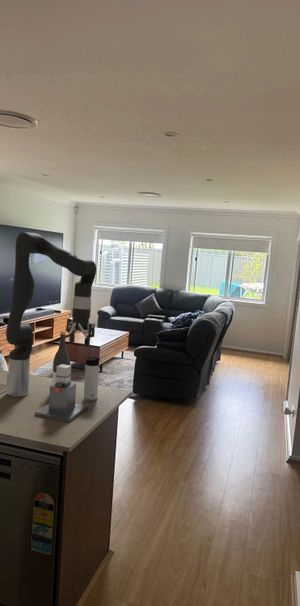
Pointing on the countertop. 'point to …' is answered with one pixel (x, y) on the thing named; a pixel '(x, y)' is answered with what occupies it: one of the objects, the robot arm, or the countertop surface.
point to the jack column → (63, 375)
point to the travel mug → (91, 379)
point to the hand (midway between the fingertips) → (79, 344)
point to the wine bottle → (60, 356)
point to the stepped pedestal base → (62, 403)
